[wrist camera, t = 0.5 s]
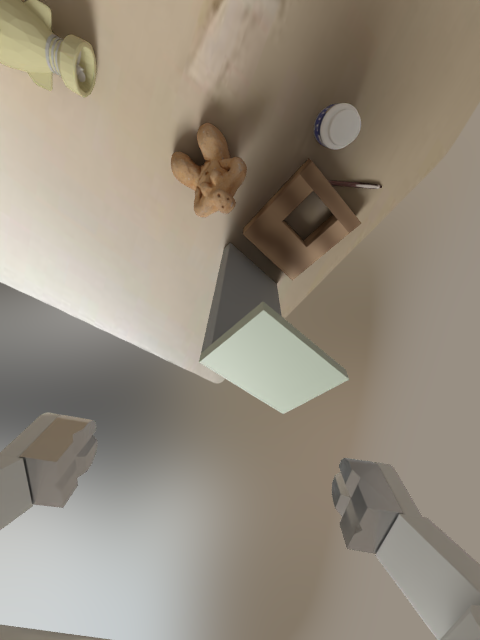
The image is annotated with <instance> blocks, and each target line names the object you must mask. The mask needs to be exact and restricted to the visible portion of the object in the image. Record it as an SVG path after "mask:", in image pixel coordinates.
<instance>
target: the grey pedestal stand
mask: <svg viewBox="0 0 480 640" xmlns="http://www.w3.org/2000/svg"><path fill="white" fill-rule="evenodd" d="M199 363H201V364H202V365H204V366H206V367H207V368H209V369H211V370H212V371H214V372H215V373H217V374H219V375H220V376H222V377H224V378H225V379H227V380H229V381H230V382H232V383H233V384H235V385H237V386H239V387H240V388H242V389H243V390H245V391H246V392H248V393H250V394H251V395H253V396H255V397H256V398H258V399H260V400H261V401H263V402H264V403H266V404H268V405H270V406H271V407H273V408H274V409H276V410H277V411H279V412H281V413H282V414H284V413H286V412H288V411H290V410H292V409H294V408H296V407H297V406H299V405H301V404H303V403H305V402H307V401H309V400H311V399H313V398H315V397H317V396H318V395H320V394H322V393H324V392H326V391H328V390H330V389H332V388H334V387H336V386H337V385H339V384H341V383H343V382H345V381H347V380H349V378H348V375H347V372H346V370H345V369H344V368H343V367H342V366H341V365H339V364H338V363H337V362H336V361H334V360H333V359H332V358H331V357H330V356H329V355H327V354H326V353H325V352H324V351H323V350H321V349H320V348H319V347H318V346H316V345H315V344H314V343H313V342H312V341H310V340H309V339H308V338H307V337H306V336H304V335H303V334H302V333H301V332H300V331H298V330H297V329H296V328H294V327H293V326H292V325H291V324H290V323H288V321H286V320H285V319H284V318H283V317H282V316H281V310H280V303H279V296H278V289H277V284H276V283H275V282H274V281H273V280H272V279H271V278H269V277H268V276H267V275H266V274H265V273H264V272H263V271H262V270H260V269H259V268H258V267H257V266H256V265H255V264H254V263H253V262H251V261H250V260H249V259H248V258H247V257H246V256H245V255H244V254H242V253H241V252H240V251H239V250H238V249H237V248H236V247H235V246H234V245H232V244H231V243H229V244H228V245H227V246H226V247H225V248H224V251H223V255H222V260H221V264H220V269H219V273H218V278H217V283H216V287H215V292H214V296H213V301H212V305H211V310H210V315H209V319H208V324H207V328H206V333H205V338H204V342H203V347H202V351H201V356H200V360H199Z"/></svg>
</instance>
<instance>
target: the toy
mask: <svg viewBox="0 0 480 640" xmlns="http://www.w3.org/2000/svg"><path fill="white" fill-rule="evenodd" d="M0 63H1V64H3V65H5V66H8V67H10V68H14V69H18V70H22V71H26V72H27V73H28V74H29V76H30V77H31V79H32V80H33V81H34V82H35V83H36V85H38V86H40V87H42V88H44V89H46V90H49V91H51V90H52V73H55V74H58V75H59V76H61V77H62V79H63V81H64V83H65V85H66V87H68V88H69V89H70V90H72V91H73V92H75V93H77V94H78V95H80V96H82V97H87V96H89V95H90V94H91V92H92V90H93V87H94V85H95V79H96V59H95V55H94V51H93V48H92V46H91V45H90V43H88V42H87V41H85V40H83V39H81V38H79V37H77V36H74V35H72V34H71V35H68V36H66V37H65V38H64V39H62V38H59V37H58V36H56V35H55V34H54V33H53V32H52V11H51V9H50V8H49V7H48V6H47V5H46V4H44V3H42V2H40V1H39V0H27V1H25V2H23V1H21V0H0Z"/></svg>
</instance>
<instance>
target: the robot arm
mask: <svg viewBox="0 0 480 640" xmlns="http://www.w3.org/2000/svg"><path fill="white" fill-rule="evenodd" d="M95 431H96V422H95V421H93V420H88V419H83V418H77V417H72V416H66V415H58V414H53V413H45V414H42V415H41V416H39V417H38V418H37V419H36V420H35V421H34V422H33V423H32V424H31V425H30V426H28V427H27V428H26V429H25V430H24V431H23V432H22V433H21V434H20V435H19V436H18V437H17V438H16V439H14V440H13V441H12V442H11V443H10V444H9V445H8V446H7V447H6V448H5V449H4V450H3V451H1V452H0V530H1V529H2V528H4V527H5V526H6V525H8V524H9V523H11V522H12V521H13V520H14V519H16V518H17V517H19V516H20V515H21V514H23V513H24V512H26V511H27V510H28V509H30V508H31V507H32V506H33V505H32V504H35V505H44V506H53V507H61V508H63V507H64V505H65V504H66V502H67V501H68V500H69V498H70V496H71V495H72V493H73V492H74V490H75V489H76V487H77V486H78V482H77V478H78V477H79V476H81V475H82V474H84V473H85V472H87V470H88V469H89V467H90V466H91V464H92V462H93V460H94V457H95V455H96V451H97V439H96V438H95V437H94V436H93V434H94V432H95ZM339 468H340V471H341V472H340V473H339V474H337V475H335V477H334V480H333V483H332V497H333V502H334V506H335V509H336V510H337V511H338V512H339V513H340V514H341V516H342V519H341V522H340V527H341V530H342V533H343V537H344V540H345V544H346V547H347V549H352V550H357V551H362V552H368V553H374V554H376V555H375V556H376V557H377V558H378V560H379V561H380V563H381V564H382V565H383V567H384V568H385V569H386V571H387V572H388V573H389V575H390V576H391V578H392V579H393V580H394V582H395V583H396V584H397V586H398V587H399V588H400V590H401V591H402V592H403V594H404V595H405V597H406V598H407V599H408V601H409V602H410V603H411V605H412V606H413V607H414V609H415V610H416V612H417V613H418V614H419V616H420V617H421V618H422V620H423V621H424V622H425V624H426V625H427V627H428V628H429V629H430V631H431V632H432V633H433V635H434V636H435V637H436V639H437V640H480V564H479V563H478V562H477V561H475V560H474V559H473V558H472V557H471V556H470V555H469V554H468V553H466V552H465V551H464V550H463V549H462V548H461V547H460V546H459V545H457V544H456V543H455V542H454V541H453V540H452V539H451V538H450V537H448V536H447V535H446V534H445V533H444V532H443V531H442V530H441V529H439V528H438V527H437V526H436V525H435V524H434V523H433V522H432V521H431V520H429V519H428V518H425V517H422V515H421V513H420V512H419V510H418V508H417V506H416V505H415V503H414V501H413V500H412V498H411V496H410V494H409V493H408V491H407V489H406V487H405V486H404V484H403V482H402V481H401V479H400V477H399V475H398V474H397V472H396V470H395V469H394V467H393V466H391V465H390V464H384V463H377V462H370V461H362V460H355V459H349V458H344V459H342V460H341V462H340V464H339ZM0 640H110V639H102V638H94V637H87V636H80V635H72V634H65V633H58V632H51V631H43V630H36V629H28V628H21V627H14V626H6V625H0Z"/></svg>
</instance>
